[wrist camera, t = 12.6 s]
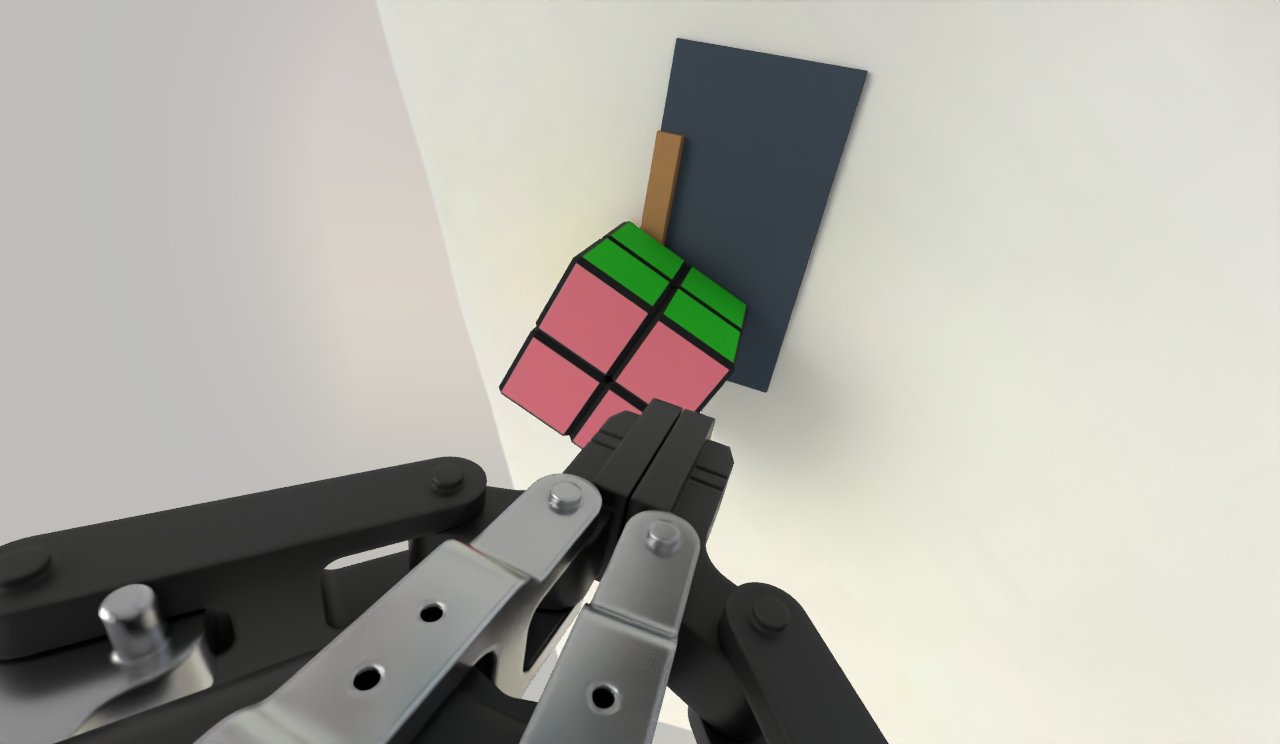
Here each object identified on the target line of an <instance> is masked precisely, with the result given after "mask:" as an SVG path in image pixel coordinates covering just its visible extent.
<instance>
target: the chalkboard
mask: <svg viewBox="0 0 1280 744" xmlns="http://www.w3.org/2000/svg"><path fill="white" fill-rule="evenodd" d="M867 72H868V71H865V70H859V69H853V68H847V67H842V66H836V65H830V64H824V63H819V62H813V61H807V60H801V59H795V58H790V57H784V56H778V55H772V54H767V53H761V52H755V51H749V50H743V49H738V48H732V47H726V46H720V45H714V44H709V43H703V42H697V41H691V40H686V39H680V38H677V39H676V45H675V51H674V57H673V62H672V68H671V74H670V80H669V86H668V92H667V97H666V103H665V109H664V115H663V121H662V126H661V131H657V136H656V142H655V148H654V153H653V159H652V165H651V171H650V177H649V183H648V189H647V195H646V201H645V207H644V212H643V218H642V224H641V230H643V231H644V232H645V233H647V234H648V235H650V236H651V237H652V238H654V239H655V240H657V241H658V242H659V243H661V244H662V245H664V246H665V247H666V248H668V249H669V250H670V251H672V252H673V253H675V254H676V255H677V256H679V257H680V258H682V259H683V260H684V261H685V265H686V267H694V268H695V269H697V270H698V271H699V272H701V273H702V274H704V275H705V276H707V277H708V278H709V279H711V280H712V281H714V282H715V283H716V284H718V285H719V286H721V287H722V288H723V289H725V290H726V291H728V292H729V293H730V294H732V295H733V296H735V297H736V298H738V299H739V300H740V301H742V302H743V303H745V304H746V305H747V310H748V313H747V317H746V322H745V327H744V332H743V336H742V337H741V344H740V349H739V354H738V358H737V363H736V368H735V371H734V373H733V374H732V375H731V376H730V377H729V378H728V380H727V381H731V382H734V383H737V384H740V385H743V386H746V387H750V388H753V389H756V390H759V391H762V392H767V389H768V386H769V383H770V380H771V377H772V373H773V370H774V367H775V364H776V361H777V358H778V354H779V351H780V348H781V345H782V342H783V339H784V335H785V332H786V329H787V326H788V323H789V320H790V316H791V313H792V310H793V307H794V304H795V300H796V297H797V294H798V291H799V288H800V285H801V281H802V278H803V275H804V272H805V269H806V266H807V262H808V259H809V256H810V253H811V250H812V247H813V243H814V240H815V237H816V234H817V231H818V228H819V224H820V221H821V218H822V215H823V212H824V209H825V205H826V202H827V199H828V196H829V193H830V189H831V186H832V183H833V180H834V177H835V174H836V170H837V167H838V164H839V161H840V158H841V155H842V151H843V148H844V145H845V142H846V139H847V136H848V132H849V129H850V126H851V123H852V120H853V117H854V113H855V110H856V107H857V104H858V101H859V97H860V94H861V91H862V88H863V85H864V82H865V78H866V75H867Z"/></svg>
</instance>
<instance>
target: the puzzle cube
mask: <svg viewBox="0 0 1280 744" xmlns="http://www.w3.org/2000/svg"><path fill="white" fill-rule="evenodd" d="M747 313H748V310H747V305H746V304H745V303H743V302H742V301H740V300H739V299H738V298H736V297H735V296H733V295H732V294H730V293H729V292H728V291H726V290H725V289H723V288H722V287H721V286H719V285H718V284H716V283H715V282H714V281H712V280H711V279H709V278H708V277H707V276H705V275H704V274H702V273H701V272H699V271H698V270H697V269H695V268H694V267H686V265H685V261H684V260H683V259H682V258H680V257H679V256H677V255H676V254H675V253H673V252H672V251H670V250H669V249H668V248H666V247H665V246H664V245H662V244H661V243H659V242H658V241H657V240H655V239H654V238H652V237H651V236H650V235H648V234H647V233H645V232H644V231H643V230H641V229H640V228H638V227H637V226H636V225H634V224H633V223H632V222H630V221H629V222H623V223H622V224H620V225H619V226H618V227H616V228H615V229H613V230H612V231H610V232H609V233H608V234H606V235H605V236H603V238H602V239H599V240H598V241H596V242H595V243H594V244H592V245H591V246H589V247H588V248H586V249H585V250H584V251H582V252H581V253H579V254H578V255H577V256H575V257H574V258H573V259H572V261H571V263H570V264H569V266H568V268H567V270H566V271H565V273H564V275H563V277H562V278H561V280H560V282H559V283H558V285H557V287H556V289H555V290H554V292H553V294H552V296H551V297H550V299H549V301H548V303H547V304H546V306H545V308H544V309H543V311H542V313H541V315H540V316H539V318H538V320H537V322H536V324H537V326H536V327H535V328H534V329H533V330H532V331H531V332H530V334H529V336H528V337H527V339H526V341H525V342H524V344H523V346H522V348H521V349H520V351H519V353H518V355H517V356H516V358H515V360H514V362H513V363H512V365H511V367H510V368H509V370H508V372H507V374H506V375H505V377H504V379H503V381H502V382H501V384H500V386H499V389H500V391H501V394H503V395H504V396H505V397H507V398H508V399H510V400H511V401H513V402H514V403H516V404H517V405H519V406H520V407H522V408H523V409H524V410H526V411H527V412H529V413H530V414H532V415H533V416H535V417H536V418H538V419H539V420H541V421H542V422H543V423H545V424H546V425H548V426H549V427H551V428H552V429H554V430H555V431H557V432H558V433H560V434H561V435H562V436H566V435H570V438H571V442H572V443H574V444H575V445H577V446H578V447H580V448H581V449H583V448H584V447H585V446H586V444H587V443H588V442H589V441H591V438H592V437H593V436H594V435H595V434H596V432H598V431H599V429H600V428H601V426H602V425H603V424H604V423H605V422H606V420H607V419H608V418H609V417H611V416H613V415H615V414H618V413H620V412H622V411H625V410H628V411H631V412H633V413H636V414H639V415H641V414H642V412H643V411H644V410H645V408H646V407H647V406H648V404H649V403H650V402H651V400H652V399H653V398H657V399H659V400H662V401H665V402H668V403H671V404H674V405H677V406H679V407H682V408H684V410H685V409H688V410H691V411H694V412H697V413H700V411H701V410H702V409H703V408H704V407H705V406H706V404H707V403H708V402H709V401H710V400H711V398H712V397H713V396H714V395H715V394H716V393H717V391H718V390H719V389H720V388H721V387H722V385H723V384H724V383H725V382H726V381H727V380H728V378H729V377H730V376H731V375H732V374H733V373H734V371H735V368H736V363H737V358H738V354H739V349H740V344H741V337H742V336H743V332H744V327H745V322H746V317H747Z"/></svg>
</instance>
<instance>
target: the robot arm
mask: <svg viewBox="0 0 1280 744" xmlns="http://www.w3.org/2000/svg"><path fill="white" fill-rule="evenodd" d="M714 424H715V419H714V418H711V417H708V416H705V415H703V414H700V413H697V412H694V411H691V410H688V409H685V410H684V408H682V407H679V406H677V405H674V404H671V403H668V402H665V401H662V400H659V399H657V398H653V399H652V400H651V402H650V403H649V404H648V406H647V407H646V408H645V410H644V411H643V412H642V414H641V415H639V414H636V413H633V412H631V411H628V410H625V411H622V412H620V413H618V414H615V415H613V416H611V417H609V418H608V419H607V420H606V422H605V423H604V424H603V425H602V426H601V428H600V429H599V431H598V432H596V434H595V435H594V436H593V437H592V438H591V441H589V442H588V443H587V444H586V446H585V447H584V448H583V449H582V450H581V452H580V453H579V454H578V455H577V456H576V458H575V459H574V460H573V461H572V462H571V464H570V465H569V466H568V467H567V468H566V470H565V471H564V472H563V473H562V474H552V475H548V476H545V477H542V478H540V479H539V480H537V481H536V482H534V483H533V484H532V485H531V486H530V487H529V488H528V489H527V490H511V489H503V488H497V487H490V486H486V483H487V480H486V474H485V472H484V471H483V469H482V468H481V467H480V466H479V465H478V464H476V463H474V462H472V461H470V460H467V459H464V458H459V457H440V458H434V459H429V460H424V461H419V462H413V463H408V464H403V465H398V466H393V467H387V468H382V469H377V470H372V471H367V472H362V473H357V474H351V475H346V476H341V477H336V478H331V479H325V480H321V481H315V482H310V483H305V484H300V485H295V486H289V487H284V488H279V489H274V490H269V491H264V492H259V493H253V494H248V495H243V496H238V497H232V498H227V499H222V500H217V501H212V502H207V503H201V504H196V505H191V506H186V507H181V508H176V509H171V510H165V511H160V512H155V513H150V514H145V515H140V516H135V517H129V518H124V519H119V520H114V521H109V522H103V523H99V524H94V525H88V526H83V527H78V528H72V529H68V530H63V531H57V532H52V533H47V534H41V535H36V536H32V537H28V538H23V539H20V540H17V541H13V542H10V543H8V544H5V545H2V546H0V744H652V740H653V737H654V732H655V729H656V725H657V721H658V717H659V713H660V709H661V705H662V702H663V698H664V694H665V690H666V686H668V687H669V688H670V689H671V690H672V691H673V692H674V693H675V694H676V695H677V696H678V697H680V698H681V699H682V700H683V701H684V702H685V703H686V704H687V705H688V718H689V722H690V726H691V728H692V731H693V734H694V737H695V739H696V742H697V744H888V742H887V740H886V739H885V737H884V736H883V734H882V733H881V731H880V729H879V728H878V726H877V725H876V723H875V721H874V720H873V718H872V717H871V715H870V713H869V712H868V710H867V709H866V707H865V706H864V704H863V702H862V701H861V699H860V698H859V696H858V694H857V693H856V691H855V690H854V688H853V687H852V685H851V683H850V682H849V680H848V679H847V677H846V675H845V674H844V672H843V671H842V669H841V667H840V666H839V664H838V663H837V661H836V660H835V658H834V656H833V655H832V653H831V652H830V650H829V648H828V647H827V645H826V644H825V642H824V641H823V639H822V637H821V636H820V634H819V633H818V631H817V629H816V628H815V626H814V625H813V623H812V621H811V620H810V618H809V617H808V615H807V614H806V612H805V611H804V609H803V608H802V606H801V605H800V604H799V603H798V602H797V601H796V600H795V599H794V598H793V597H792V596H790V595H789V594H788V593H786V592H785V591H783V590H781V589H779V588H777V587H775V586H772V585H769V584H765V583H758V582H752V583H745V584H742V585H740V586H736V585H735V584H734V583H732V582H731V581H730V580H728V579H727V578H726V577H725V576H723V575H722V574H721V573H720V572H719V571H718V570H717V569H716V568H715V566H714V565H713V564H712V562H711V560H710V558H709V557H708V554H707V551H706V543H707V540H708V537H709V535H710V532H711V529H712V527H713V524H714V521H715V519H716V516H717V513H718V510H719V507H720V504H721V501H722V498H723V495H724V492H725V489H726V486H727V483H728V480H729V477H730V474H731V471H732V467H733V464H734V461H733V457H732V454H731V450H730V447H728V446H725V445H723V444H720V443H717V442H714V441H711V440H710V438H711V434H712V431H713V427H714ZM406 540H408V541H409V550H406V551H402V552H399V553H395V554H391V555H387V556H384V557H380V558H376V559H373V560H369V561H366V562H362V563H358V564H354V565H351V566H347V567H343V568H340V569H334V570H327V569H324V568H325V567H326V566H327V565H328V564H330V563H331V562H333V561H335V560H337V559H339V558H342V557H345V556H349V555H353V554H357V553H361V552H365V551H368V550H372V549H376V548H380V547H384V546H387V545H391V544H395V543H399V542H403V541H406ZM594 580H596V581H599V582H600V583H599V586H598V588H597V590H596V592H595V595H594V597H593V599H592V601H591V603H590V604H588V603H586V604H585V605H584V606H583V608H582V609H581V606H582V602H583V598H584V596H585V595H586V593H587V592H588V590H589V588H590V587H591V585H592V583H593V581H594ZM580 609H581V611H580ZM579 611H580V613H579ZM578 613H579V615H578ZM577 615H578V617H577V619H576V622H575V624H574V626H573V628H572V630H571V632H570V634H569V637H568V639H567V641H566V643H565V645H564V647H563V650H562V652H561V654H560V656H559V658H558V661H557V663H556V665H555V667H554V669H553V671H552V673H551V676H550V678H549V680H548V682H547V684H546V687H545V689H544V691H543V693H542V695H541V697H540V699H539V702H534V701H528V700H523V699H522V697H523V695H524V693H525V691H526V689H527V688H528V686H529V684H530V683H531V681H532V680H533V678H534V677H535V676H536V674H537V672H538V671H539V670H540V668H541V667H542V665H543V664H544V662H545V661H546V660H547V658H548V657H549V655H550V654H551V652H552V651H553V649H554V648H555V646H556V645H557V644H558V642H559V641H560V639H561V638H562V636H563V635H564V633H565V632H566V630H567V629H568V628H569V626H570V625H571V623H572V622H573V620H574V619H575V617H576V616H577Z"/></svg>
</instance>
